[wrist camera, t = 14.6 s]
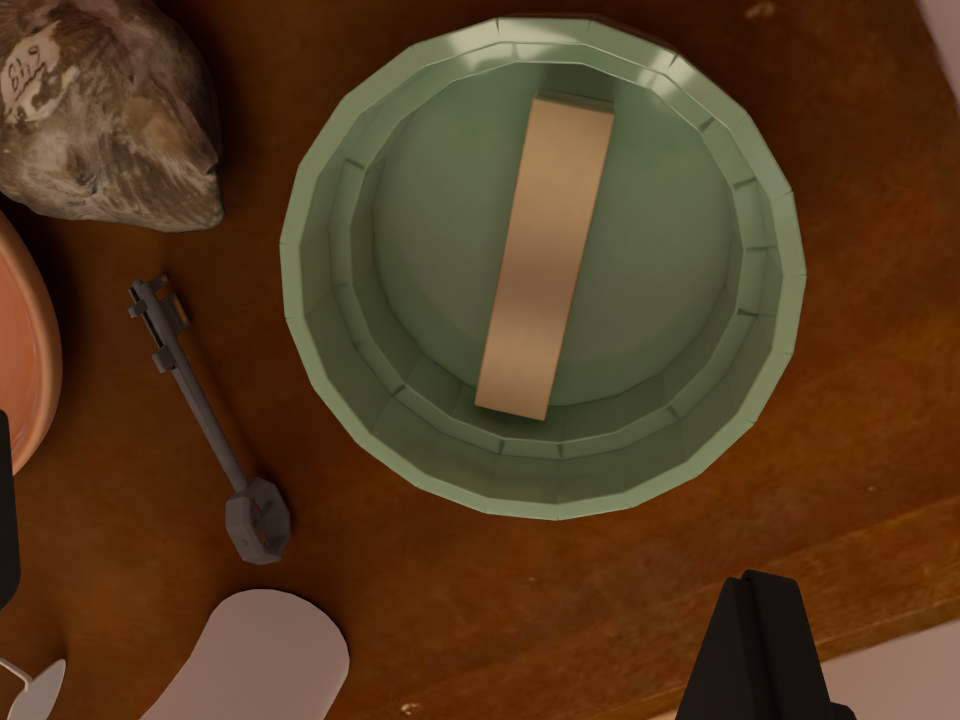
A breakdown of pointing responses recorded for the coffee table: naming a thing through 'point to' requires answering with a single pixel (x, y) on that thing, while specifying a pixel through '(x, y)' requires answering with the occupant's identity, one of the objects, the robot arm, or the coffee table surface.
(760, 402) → the bowl
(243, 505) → the key
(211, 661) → the cup
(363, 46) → the coffee table surface
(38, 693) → the eyeglasses
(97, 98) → the fossilized seashell
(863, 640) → the coffee table surface
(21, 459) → the saucer
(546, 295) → the rectangular block
